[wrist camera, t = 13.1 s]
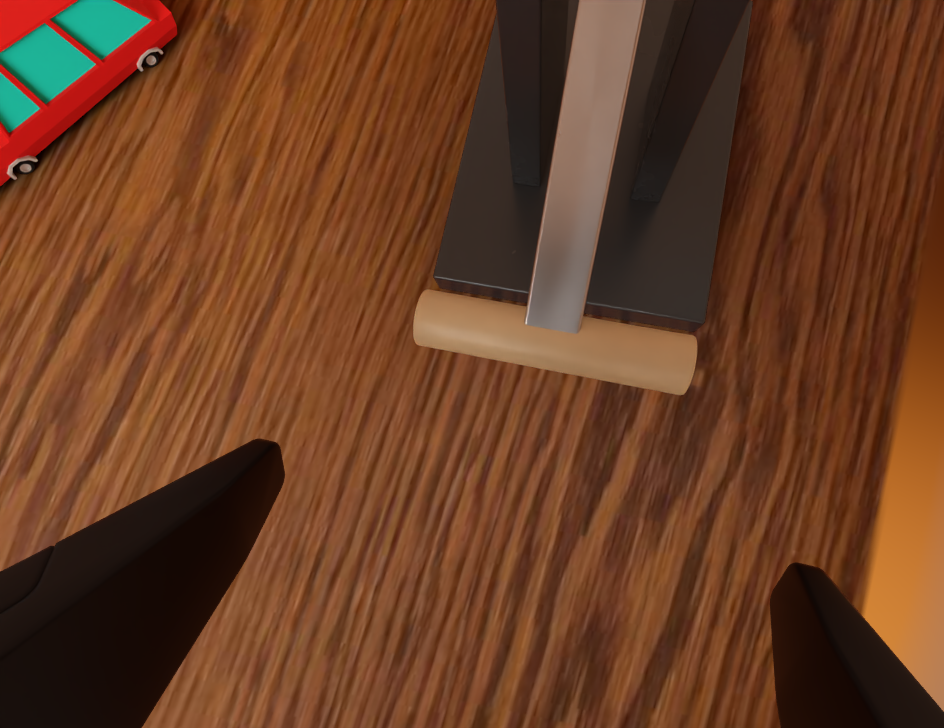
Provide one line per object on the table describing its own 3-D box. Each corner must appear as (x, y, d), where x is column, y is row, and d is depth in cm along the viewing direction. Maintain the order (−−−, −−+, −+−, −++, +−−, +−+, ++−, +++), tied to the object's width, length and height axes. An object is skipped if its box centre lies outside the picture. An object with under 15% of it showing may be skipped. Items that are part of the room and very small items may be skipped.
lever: (672, 378, 12) (691, 414, 10) (433, 333, 13) (400, 356, 11) (854, -333, 9) (947, -529, 6) (515, -329, 10) (492, -500, 7)
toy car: (-93, 131, 24) (-215, 65, 20) (113, -43, 25) (33, -140, 21) (-25, 227, 23) (-143, 176, 19) (193, 40, 23) (123, -48, 19)
